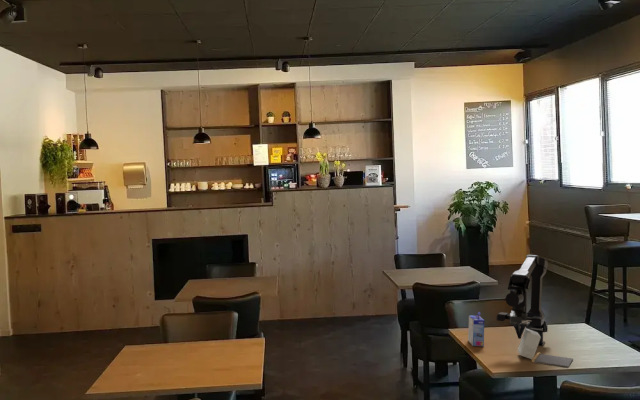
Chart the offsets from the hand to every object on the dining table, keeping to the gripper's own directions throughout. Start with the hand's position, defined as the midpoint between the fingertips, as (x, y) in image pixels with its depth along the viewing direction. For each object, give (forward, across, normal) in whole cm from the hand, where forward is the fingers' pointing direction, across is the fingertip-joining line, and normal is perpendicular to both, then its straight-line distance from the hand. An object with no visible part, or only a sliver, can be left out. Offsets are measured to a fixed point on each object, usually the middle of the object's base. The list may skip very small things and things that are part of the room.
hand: (519, 338), depth 256 cm
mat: (+8, +14, 0) cm, 16 cm away
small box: (+7, +2, 0) cm, 7 cm away
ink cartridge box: (+8, -22, +10) cm, 25 cm away
